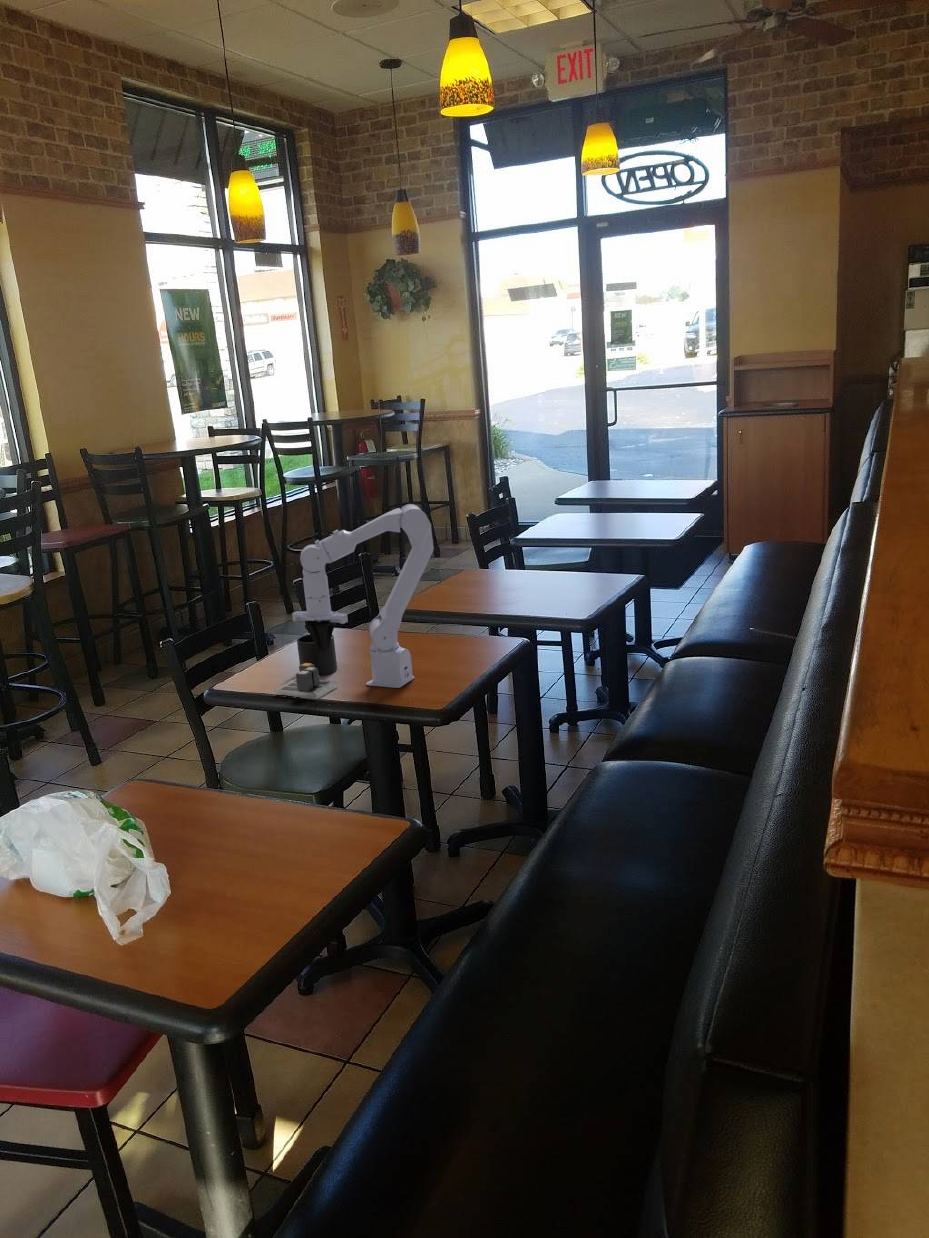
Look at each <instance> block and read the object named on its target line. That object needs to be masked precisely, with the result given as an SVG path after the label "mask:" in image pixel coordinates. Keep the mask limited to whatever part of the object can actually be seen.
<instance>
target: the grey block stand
mask: <svg viewBox="0 0 929 1238" xmlns="http://www.w3.org/2000/svg"><path fill="white" fill-rule="evenodd" d="M335 689H338V682H337V681H335V680H324V679H320V676H319V672H318V668H311V667H308V668H306V669H304V670H303V671H301V672H300V671H299V672H297V673H295V678H294V679H291V680H290V681H288V682H287V683H285V684H283V685H281V686H279V687H277V688H275V689H274V695H275V694H281V695H288V696H289V695H290V696H295V697H294V698H296V697H300V699H309V700H319V699H320V698H323V697H324V696H325V695H327V694H328V693H330V692H332V691H334V690H335Z"/></svg>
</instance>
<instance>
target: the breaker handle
mask: <svg viewBox="0 0 929 1238" xmlns="http://www.w3.org/2000/svg"><path fill="white" fill-rule="evenodd" d="M308 667H311V668H315V666H314V664H311V663H304V664H302V665H300V664H299V667H298V670H299V672H301V671H303V670H304V669H306V668H308Z"/></svg>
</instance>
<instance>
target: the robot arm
mask: <svg viewBox="0 0 929 1238" xmlns="http://www.w3.org/2000/svg"><path fill="white" fill-rule="evenodd" d="M401 528H402V530H403V532H404V533H405V534H406V535H407V537H408V540H409V543H410V546H411V549H410V552H409V553H408V556H407V557H406V559H405V562H404V563H403V566H402V568H401V570H400V573H399V574H398V576H397V579H396V581H395V583H394V586H393V587H392V589H391V591H390V594H389V595H388V598H387V599H386V601H385V605H384V606H383V607H382V608H381V609H380V610H379V613H378V615H377V616H376V617H374V618H373V619H372V620H371V621H370V623H369V625H368V633H369V635H370V639H371V644H370V645H369V654H370V655H369V656H370V664H371V667H370V668H371V675H372V679H371V680H369V681H367V682H366V683H365V685H366V686H373V687H382V688H396V689H400V688H402V687H403V686H404V685H406V684H408V683H409V682H410V681H412V680H414V679H415V676H414V673H413V666H412V655H411V653H410V650H409V649H407V648H404V647H401V646H400V643H399V642H398V640H399V639H398V632H399V629H400V627H401V624H402V619H403V616H404V613H405V611H406V609H407V607H408V605H409V602H410V600H411V599H412V597H413V594H414V592H415V590H416V589H417V586H418V583H419V582H420V580H421V577H422V575H423V573H424V571H425V569H426V567H427V565H428V564H429V563H428V562H429V560H430V559H431V557H432V554H433V553H434V548H435V547H434V539H433V532H432V524H431V522H430V519H429V517H428V516H427V514H426V513H425V511H423V510H422V509H421V508H420V507H419V506H418V505H416V504H412V503H408V504H405V505H403V506H401V508H400V507H398V508H395V509H392V510H390V511H388V512H385V513H384V514H382V515H380V516H378V517H376V518H374V519H372V520H371V521H369V522H367V523H365V524H363V525H361V526H359V527H358V528H356V529H354V530H352V531H347V530H346V529H341V530H340V531H339V530H338V529H336V530H334V531H332V535H330V536H328V537H325V538H323V539H321V540H319V539H317V540H315V541H314V544H308V545H306V546H304V547H303V548H302V550H301V551H300V557H299V560H300V564H301V566H302V576H303V578H302V581H303V582H302V583H303V590H304V598H305V608H306V611H305V610H303V611H294V612H291V617H292V621H293V622H298V621H301V622H302V621H303V622H306V624H304V628H305V630H306V631H307V632H308V634H310V635H311V637H312V639H313V641H314V643H315V645H316V648H317V651H323V652H326V651H328V650H329V649H330V641H331V636H332V635H333V632H334V629H335V627H336V625H337V623H339V624H342V625H344V624H346V623H348V622H349V620H348V613H342V612H338V611H337V612H336V611H332V606H331V599H330V590H329V580H328V575H327V574H326V573H327V572H326V565H327V564H332V563H333V562H336V561H338V560H340V559H342V558H344V557H346V556H348V555H350V554H352V553H355V549H356V547H357V545H358V544H361V543H363V542H364V541H367V540H370V539H372V538H374V537H376V536H378V535H380V534H383V533H385V532H393V533H401Z"/></svg>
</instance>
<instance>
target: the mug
mask: <svg viewBox="0 0 929 1238" xmlns="http://www.w3.org/2000/svg"><path fill="white" fill-rule="evenodd" d="M296 645H297V651H298V659H299V660H298V661H299V666H300V665H302V664H304V663H311V664H314V666H315V668H318V672H319V677H322V676H327V675H330V674H332V673H333V674H334V672H336V671H337V669H338V663H337V653H336V644H335V636H334V635H333V634H332V636H331V641H330V649H329V650H328V651H326V652H323V651H317V648H316V645H315V643H314V641H313V639H312V637H311V635H310V633H308V634H305V635H302V636H299V637H298V638H297V639H296Z"/></svg>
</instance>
